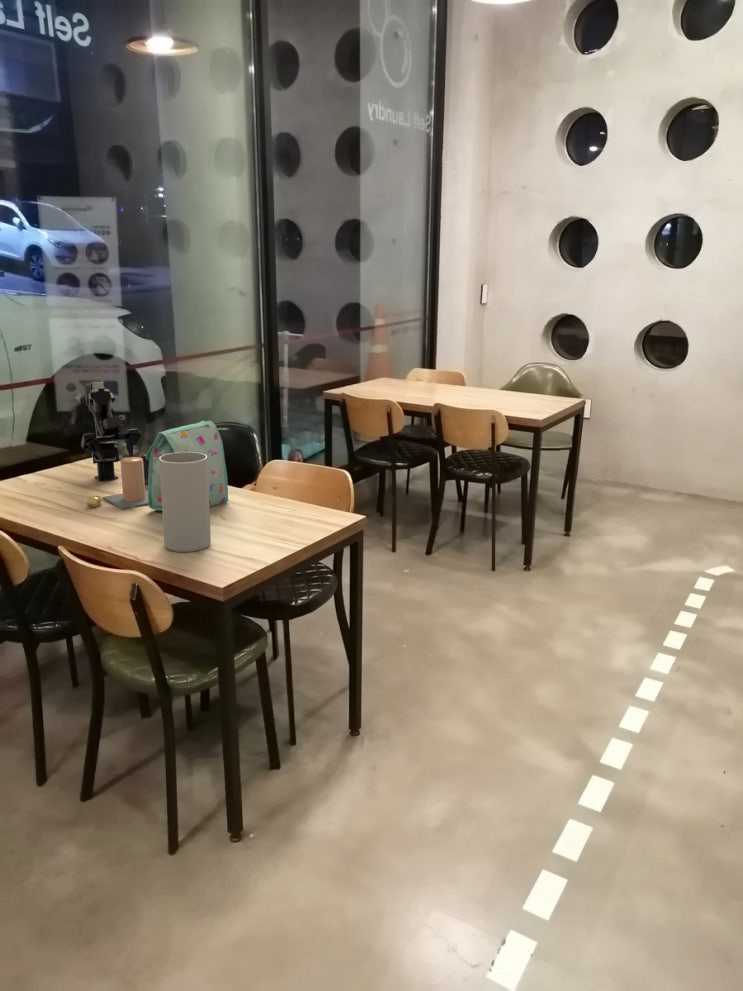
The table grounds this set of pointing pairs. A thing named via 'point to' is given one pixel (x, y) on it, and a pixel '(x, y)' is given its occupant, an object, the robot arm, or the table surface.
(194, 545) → the cylinder vase
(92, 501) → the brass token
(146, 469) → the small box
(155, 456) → the lunch bag
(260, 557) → the table surface
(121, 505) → the slate mat
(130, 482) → the terracotta cup
